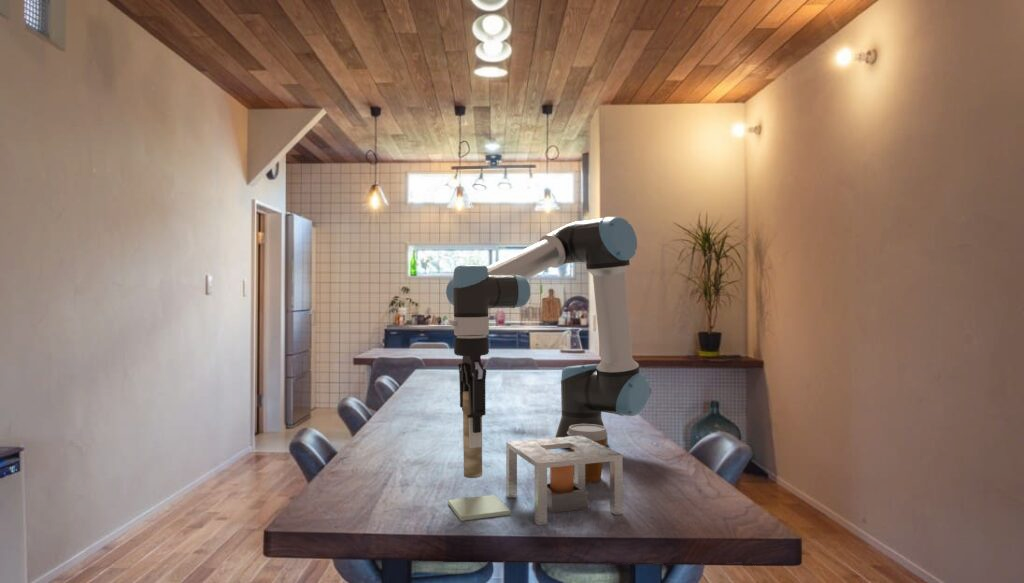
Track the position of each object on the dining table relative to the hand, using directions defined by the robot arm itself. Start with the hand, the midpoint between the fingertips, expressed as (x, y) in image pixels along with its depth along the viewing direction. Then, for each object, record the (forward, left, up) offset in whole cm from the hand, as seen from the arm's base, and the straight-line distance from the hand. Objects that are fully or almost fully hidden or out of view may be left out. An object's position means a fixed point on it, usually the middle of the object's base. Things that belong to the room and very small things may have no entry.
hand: (472, 444), depth 129 cm
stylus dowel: (0, 0, -7) cm, 7 cm away
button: (-16, +12, -8) cm, 21 cm away
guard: (-16, +12, -11) cm, 23 cm away
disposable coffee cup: (-29, -2, -11) cm, 31 cm away
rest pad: (+1, +9, -11) cm, 14 cm away
